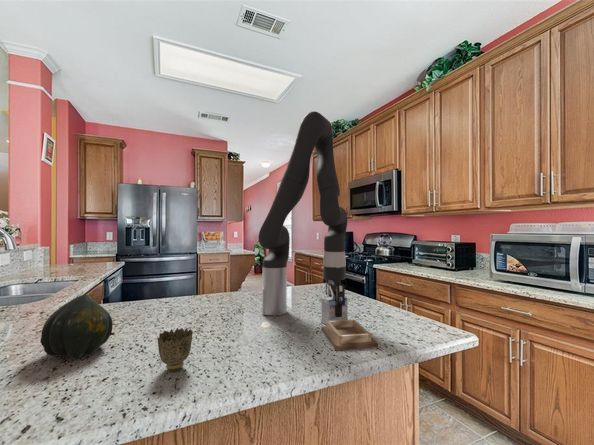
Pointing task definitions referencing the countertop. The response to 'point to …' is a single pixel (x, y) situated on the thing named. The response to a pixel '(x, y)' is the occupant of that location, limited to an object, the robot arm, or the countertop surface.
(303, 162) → the robot arm
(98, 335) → the squash
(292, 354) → the countertop surface
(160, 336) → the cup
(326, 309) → the medicine box
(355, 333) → the holder
